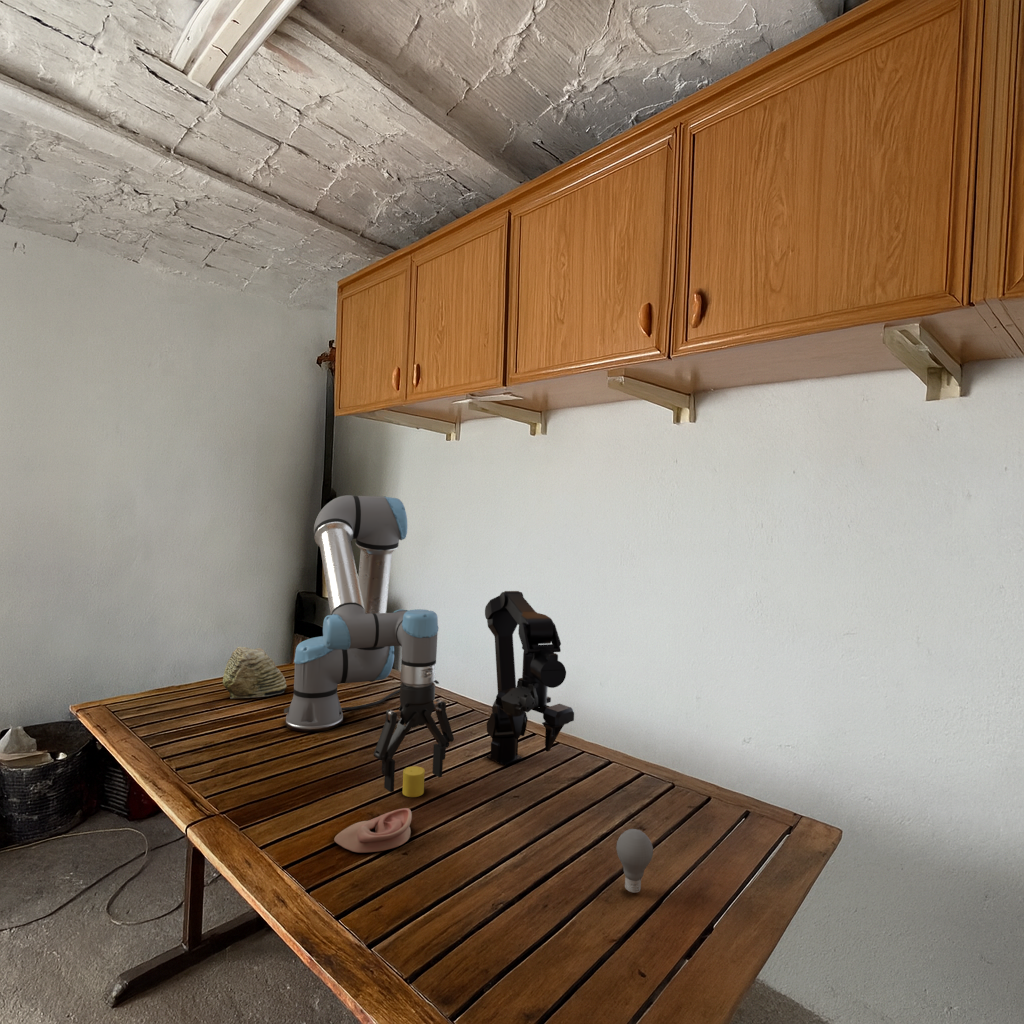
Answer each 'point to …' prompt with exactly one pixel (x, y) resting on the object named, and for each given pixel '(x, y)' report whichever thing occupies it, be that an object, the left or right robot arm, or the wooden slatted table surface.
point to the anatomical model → (377, 832)
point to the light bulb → (634, 857)
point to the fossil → (252, 674)
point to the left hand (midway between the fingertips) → (413, 782)
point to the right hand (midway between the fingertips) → (532, 744)
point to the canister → (413, 781)
